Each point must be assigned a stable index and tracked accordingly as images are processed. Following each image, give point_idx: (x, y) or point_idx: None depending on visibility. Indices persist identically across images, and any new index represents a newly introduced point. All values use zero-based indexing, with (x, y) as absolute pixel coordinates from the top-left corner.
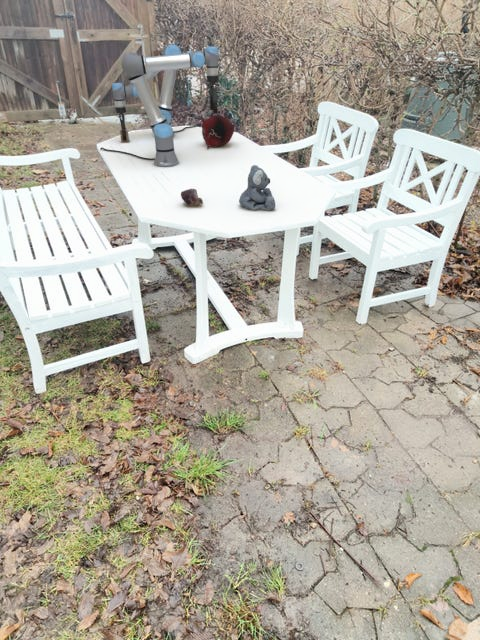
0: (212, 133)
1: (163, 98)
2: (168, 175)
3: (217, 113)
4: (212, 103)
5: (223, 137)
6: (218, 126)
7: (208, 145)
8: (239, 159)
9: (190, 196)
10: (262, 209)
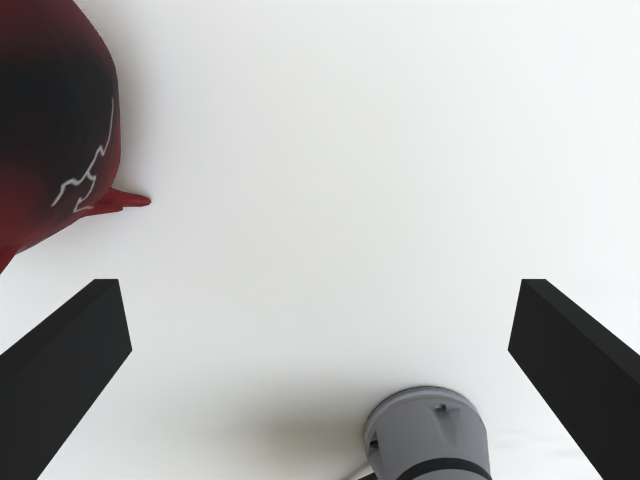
0: (88, 185)
1: None
2: None
3: (546, 282)
4: (45, 404)
5: (110, 76)
6: (35, 128)
7: (131, 199)
8: (474, 5)
9: None
10: None
